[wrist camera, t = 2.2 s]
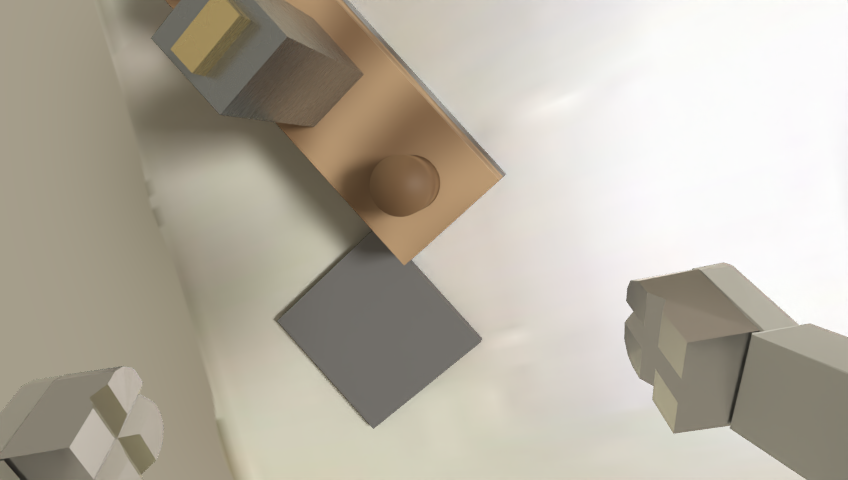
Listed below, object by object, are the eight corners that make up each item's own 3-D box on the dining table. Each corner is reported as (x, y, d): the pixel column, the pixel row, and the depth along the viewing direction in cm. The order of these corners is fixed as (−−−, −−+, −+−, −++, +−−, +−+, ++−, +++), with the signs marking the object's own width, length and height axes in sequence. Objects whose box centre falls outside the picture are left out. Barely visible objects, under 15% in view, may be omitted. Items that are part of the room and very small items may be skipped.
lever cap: (266, 73, 29) (135, 33, 19) (313, 19, 28) (201, -53, 18) (314, 127, 29) (207, 113, 19) (364, 74, 28) (276, 31, 18)
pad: (281, 318, 37) (277, 320, 36) (379, 224, 34) (377, 225, 33) (375, 424, 36) (373, 428, 36) (482, 338, 34) (481, 341, 33)
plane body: (196, 3, 34) (81, -49, 25) (268, -88, 32) (171, -178, 24) (420, 251, 34) (381, 285, 25) (506, 174, 32) (496, 181, 23)
